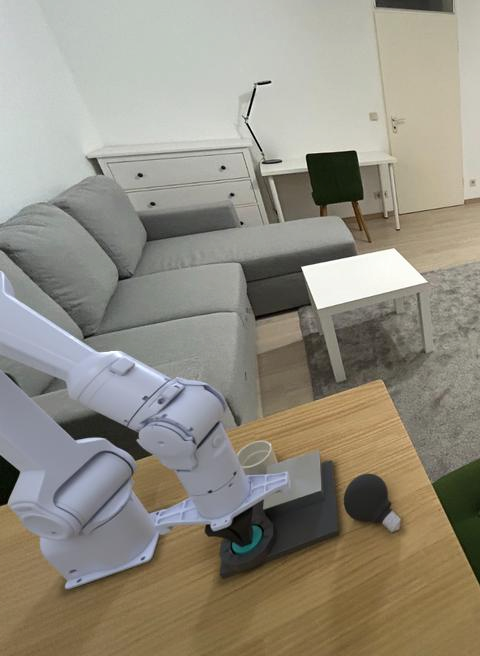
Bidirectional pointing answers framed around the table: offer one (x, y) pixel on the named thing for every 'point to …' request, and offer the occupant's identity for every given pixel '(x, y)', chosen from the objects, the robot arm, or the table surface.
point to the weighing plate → (297, 485)
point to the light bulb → (370, 501)
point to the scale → (286, 531)
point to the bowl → (256, 457)
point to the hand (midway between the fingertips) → (247, 538)
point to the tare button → (255, 542)
